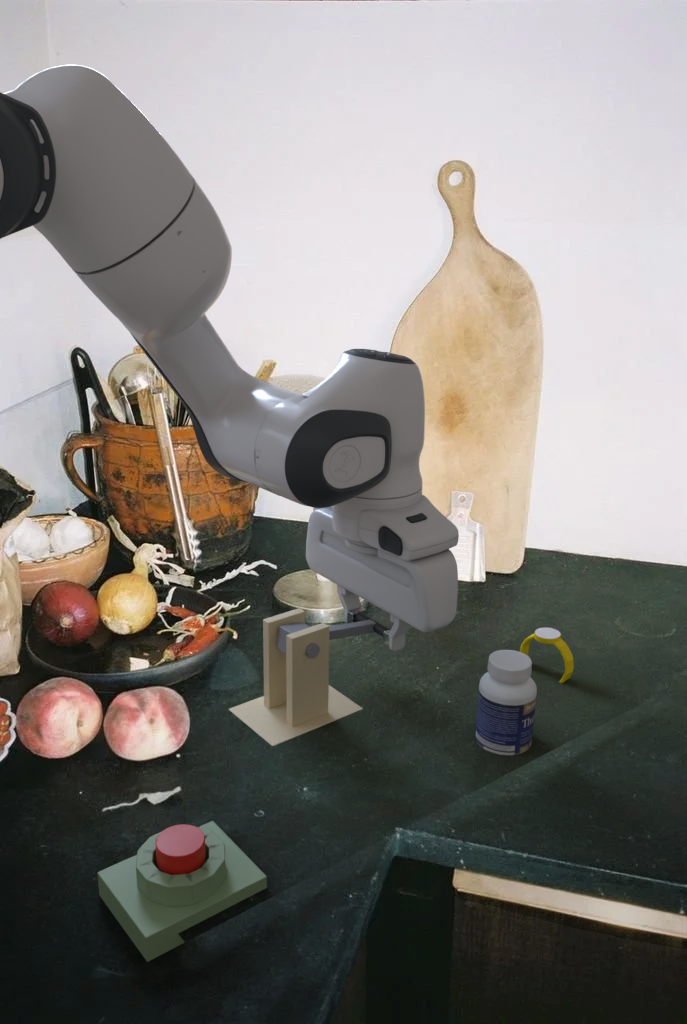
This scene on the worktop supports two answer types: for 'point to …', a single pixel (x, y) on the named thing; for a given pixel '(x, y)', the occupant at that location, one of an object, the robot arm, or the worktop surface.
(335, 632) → the lever
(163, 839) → the button
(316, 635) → the tan bracket
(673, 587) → the worktop surface
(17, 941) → the worktop surface
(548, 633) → the watch
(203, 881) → the block
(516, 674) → the pill bottle
